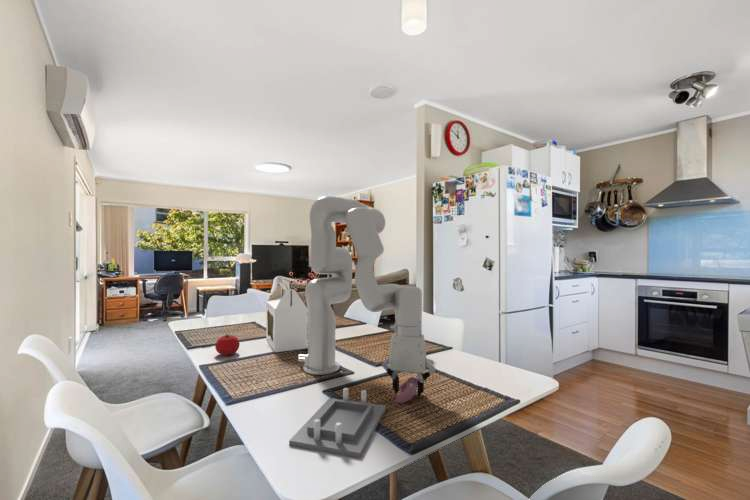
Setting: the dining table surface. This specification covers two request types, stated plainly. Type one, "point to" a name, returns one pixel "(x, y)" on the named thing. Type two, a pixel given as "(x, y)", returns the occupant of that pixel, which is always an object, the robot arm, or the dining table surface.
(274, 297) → the gable box
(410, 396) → the pink rounded piece
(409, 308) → the robot arm
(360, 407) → the tray
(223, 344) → the tomato
